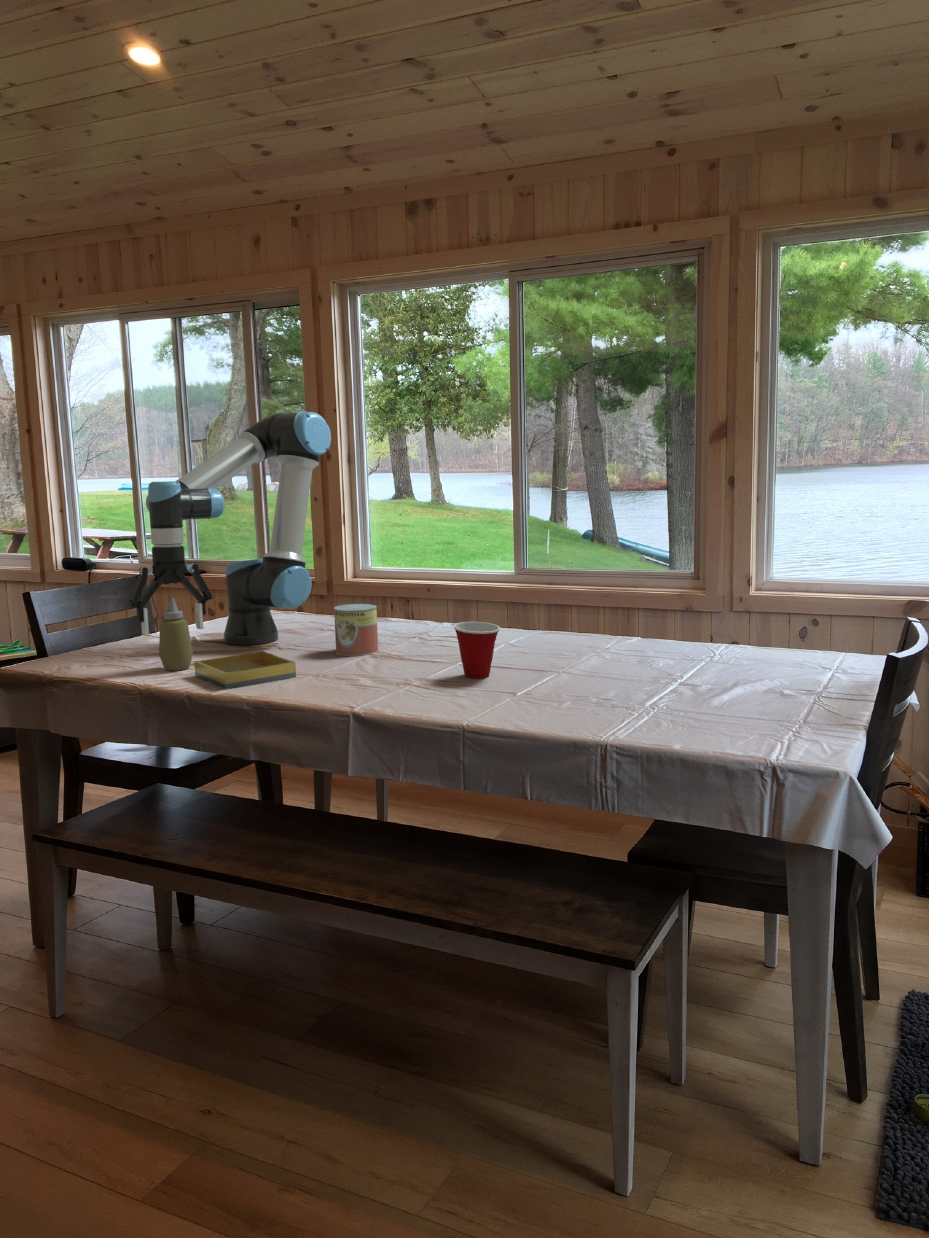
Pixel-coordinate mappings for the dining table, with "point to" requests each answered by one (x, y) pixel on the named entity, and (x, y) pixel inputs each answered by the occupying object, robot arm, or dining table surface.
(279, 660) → the shallow tray
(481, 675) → the plastic cup
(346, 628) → the canned food
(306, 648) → the dining table surface
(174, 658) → the squeeze bottle
